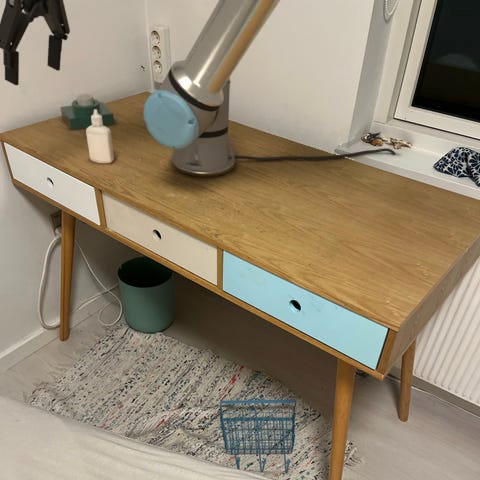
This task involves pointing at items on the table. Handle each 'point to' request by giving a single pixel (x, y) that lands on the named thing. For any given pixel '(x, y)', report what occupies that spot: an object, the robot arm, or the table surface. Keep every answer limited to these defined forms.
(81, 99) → the pale grey short cylinder
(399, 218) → the table surface
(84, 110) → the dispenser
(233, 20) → the robot arm
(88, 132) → the eye dropper bottle
